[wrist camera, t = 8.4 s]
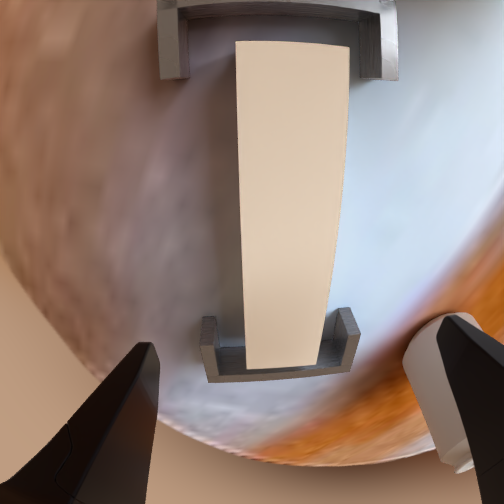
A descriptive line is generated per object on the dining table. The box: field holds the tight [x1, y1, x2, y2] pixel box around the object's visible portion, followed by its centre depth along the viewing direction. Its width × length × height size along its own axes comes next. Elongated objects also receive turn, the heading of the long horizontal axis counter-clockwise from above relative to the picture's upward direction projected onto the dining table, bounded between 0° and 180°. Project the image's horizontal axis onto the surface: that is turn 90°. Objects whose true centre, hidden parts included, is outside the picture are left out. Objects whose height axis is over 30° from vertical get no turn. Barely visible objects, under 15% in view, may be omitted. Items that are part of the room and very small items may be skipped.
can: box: [402, 313, 483, 473], centre depth 17 cm, size 8×8×12 cm
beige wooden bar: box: [236, 41, 349, 369], centre depth 15 cm, size 4×16×4 cm, turn 1°
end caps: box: [157, 0, 398, 383], centre depth 15 cm, size 10×22×2 cm, turn 2°
